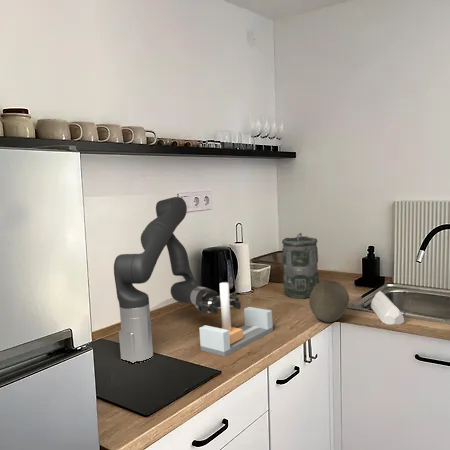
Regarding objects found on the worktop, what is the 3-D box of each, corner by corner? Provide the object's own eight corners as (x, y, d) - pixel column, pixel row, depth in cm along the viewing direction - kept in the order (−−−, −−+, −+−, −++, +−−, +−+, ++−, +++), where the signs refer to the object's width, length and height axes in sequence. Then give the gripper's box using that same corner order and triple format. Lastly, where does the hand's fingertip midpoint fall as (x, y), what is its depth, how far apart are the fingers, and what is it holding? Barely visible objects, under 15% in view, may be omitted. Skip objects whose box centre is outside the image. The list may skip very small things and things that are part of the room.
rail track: (224, 356, 143) (223, 333, 143) (200, 350, 150) (199, 327, 149) (272, 331, 164) (271, 310, 163) (250, 326, 170) (249, 306, 170)
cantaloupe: (342, 329, 162) (340, 287, 160) (304, 324, 170) (302, 284, 168) (354, 317, 174) (353, 278, 172) (318, 313, 181) (317, 275, 180)
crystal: (364, 297, 186) (378, 315, 163) (380, 288, 185) (396, 305, 162) (374, 313, 187) (389, 333, 163) (390, 303, 186) (407, 322, 162)
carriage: (228, 345, 147) (224, 287, 145) (211, 341, 152) (207, 284, 150) (243, 337, 153) (240, 281, 151) (226, 334, 158) (223, 279, 156)
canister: (317, 299, 201) (314, 235, 198) (281, 298, 206) (278, 236, 203) (321, 290, 216) (319, 231, 213) (287, 289, 221) (285, 231, 218)
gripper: (185, 291, 159) (208, 301, 146) (221, 284, 167) (246, 293, 153) (187, 312, 160) (209, 324, 146) (222, 305, 167) (247, 315, 153)
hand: (228, 308), depth 150 cm, fingers open, 8 cm apart
